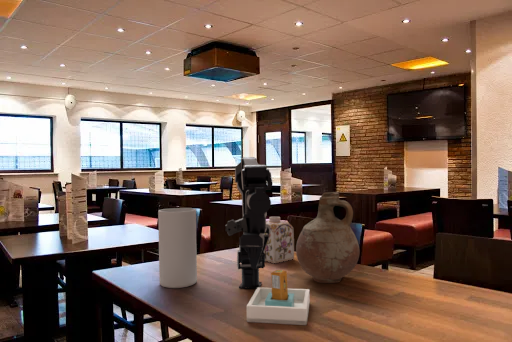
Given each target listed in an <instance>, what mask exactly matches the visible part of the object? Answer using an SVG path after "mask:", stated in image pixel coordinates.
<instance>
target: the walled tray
mask: <svg viewBox="0 0 512 342" xmlns="http://www.w3.org/2000/svg"><path fill="white" fill-rule="evenodd" d="M287 288H288V300H272V287H262V286H260V287H258V288H257V289H255V291H254V293H253V295H252V296H251V298H250V299H249V301H248V303H247V304H246V322H247V323H260V324H261V323H262V324H281V325H297V326H307V324H308V318H309V310H310V303H311V302H310V296H311V295H310V288H307V289H306V288H289V287H287Z"/></svg>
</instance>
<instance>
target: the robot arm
mask: <svg viewBox="0 0 512 342" xmlns="http://www.w3.org/2000/svg"><path fill="white" fill-rule="evenodd" d="M272 178H273V177H272V173H271V171H270V169H269V168H268V167H267V165H266V164H260V163H258V159H257V157H254V156H247V157H246V156H243V157H241V158H240V162H239V163H238V164H236V166H235V168H234V182H235V183H236V189H237V190H238V192H239V194H240V195H241V206H242V218H239V219H237V220H234V219H231V220H228V221H227V223H226V224H225V225H224V227H225V230H224V231H225V232H227V235H228V237H231V236H233V235H235V234H238V233H240V232H242V233H243V234H242V235H241V236H240V237H239V238H238V246H239V247H238V248H239V249H238V250H237V255H236V256H237V257H236V267H237V269H238V270H241V283H240V284H239V285H238V288H239V289H249V290H251V289H253V290H256V289H257V288H258V287H261V285H262V281H260V269H264V268H265V267H266V261H265V256H266V255H265V253H264V250H265V247H266V244H267V242H268V239H269V236H270V226H269V225H268V224H266V221H267V216H268V215H267V214H268V213H267V212H268V211H269V210H270V208H271V205H272V201H271V198H270V196H269V195H268V193H266V191H269V190H272V187H273V179H272ZM265 233H267V234H268V235H265Z"/></svg>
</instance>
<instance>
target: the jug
mask: <svg viewBox="0 0 512 342" xmlns="http://www.w3.org/2000/svg"><path fill="white" fill-rule="evenodd" d="M335 207H341V208H344V210H345V217H344V218H343V219H339V218H338V217H337V216H336V215H335V213H334V208H335ZM317 210H318V211H317V216H316V217H315V218H314V219H313V220H311V221H309V222H308V223H306V224H305V225H304V226H303V228H302V229H301V231H300V233H299V236H298V238H297V241H296V245H295V253H296V258H297V261H298V263H299V265H300V267H301V269H302V270H303V271H304V272H305V273H306V274H307V275H309V276H310V277H312V279H313V281H315V282H316V283H320V284H335V283H340V281H341V280H342V278H344V277H346V276H347V275H348V274H350V273H351V272H352V271H353V270H354V269H355V267H356V266H357V263H358V261H359V258H360V252H361V249H360V246H359V241H358V239H357V237H356V234H355V232H354V231H353V229H352V226H351V224H352V221H353V217H354V210H353V207H352V205H351V204H350V202H348V201H346V200H342V199H340V193H339V192H336V191H335V192H334V191H333V192H323V193H322V195H321V196H320V197H319V199H318V209H317Z"/></svg>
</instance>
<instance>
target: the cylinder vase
mask: <svg viewBox="0 0 512 342" xmlns="http://www.w3.org/2000/svg"><path fill="white" fill-rule="evenodd" d="M157 215H158V217H157V218H158V256H159V257H158V263H159V264H158V266H159V267H158V268H159V271H158V272H159V273H158V275H159V277H158V278H159V284H160V286H161V287H163V288H167V289H181V288H187V287H190V286H193V285H195V284H196V283H197V282H198V281H197V280H198V268H197V267H198V266H197V264H198V262H197V258H198V257H197V253H198V252H197V210H196V208H191V207H180V208H177V207H176V208H175V207H174V208H163V209H159V210H158V212H157Z"/></svg>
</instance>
